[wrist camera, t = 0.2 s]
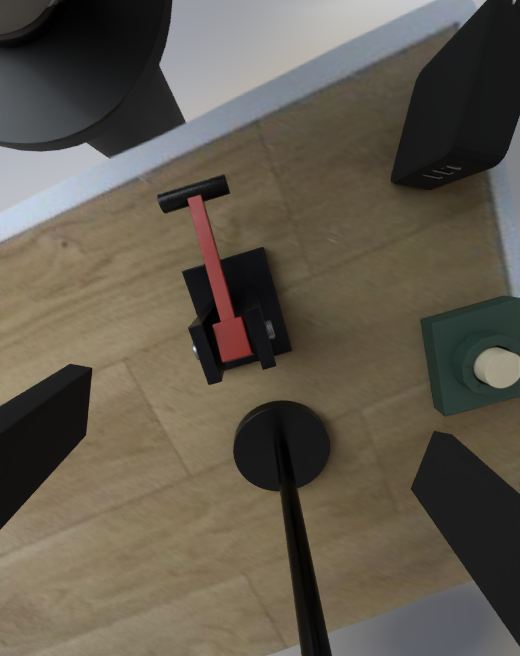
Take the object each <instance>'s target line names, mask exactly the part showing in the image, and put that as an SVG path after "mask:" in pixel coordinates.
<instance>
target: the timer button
mask: <svg viewBox="0 0 520 656" xmlns="http://www.w3.org/2000/svg"><path fill="white" fill-rule="evenodd" d="M473 370H474V374H475V375H476V377H477V378H478V379H480V380H481V381H483V382H485V383H487V384H489V385H491V386H493V387H495V388H505V387H508V386H511V385H512V384H514V383H515V382H516V381H517V380H518V379H519V378H520V357H519V356H518V355H517V354H515V353H512V352H509V351H507V350H504V349H501V348H497V347H494V348H489V349H486V350H484V351H483V352H481V353H480V354H479V355H478V356H477V358H476V360H475V362H474V366H473Z"/></svg>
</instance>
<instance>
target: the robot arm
mask: <svg viewBox="0 0 520 656" xmlns="http://www.w3.org/2000/svg"><path fill="white" fill-rule="evenodd" d="M68 2H69V0H0V47H3V48H8V47H19V46H23V45H27V44H29V43H32V42H34V41H36V40H38V39H40V38H41V37H43V36H44V35H45V34H47V33H48V32H49V31H50V30H51V29H52V28H53V27H54V26H55V25H56V24H57V22H58V21H59V20H60V18H61V16H62V15H63V13H64V11H65V9H66V7H67V5H68ZM91 377H92V368H90V367H85V366H79V365H74V364H69V365H67V366H66V367H64V368H62V369H61V370H59V371H58V372H56V373H54V374H53V375H51V376H49V377H48V378H46V379H44V380H43V381H41V382H39V383H38V384H36V385H34V386H33V387H31V388H29V389H28V390H26V391H25V392H23V393H21V394H20V395H18V396H16V397H15V398H13V399H11V400H10V401H8V402H6V403H5V404H3V405H1V406H0V530H1V528H2V527H3V526H4V525H5V524H6V523H7V522H8V521H9V520H10V519H11V517H12V516H13V515H14V514H15V513H16V512H17V511H18V510H19V509H20V507H21V506H22V505H23V504H24V503H25V502H26V501H27V500H28V499H29V498H30V496H31V495H32V494H33V493H34V492H35V491H36V490H37V489H38V488H39V487H40V485H41V484H42V483H43V482H44V481H45V480H46V479H47V478H48V477H49V475H50V474H51V473H52V472H53V471H54V470H55V469H56V468H57V467H58V466H59V464H60V463H61V462H62V461H63V460H64V459H65V458H66V457H67V456H68V455H69V453H70V452H71V451H72V450H73V449H74V448H75V447H76V446H77V445H78V443H79V442H80V441H81V440H82V439H83V438H84V437H85V436H86V430H87V420H88V409H89V398H90V388H91ZM411 490H412V491H413V493H414V494H415V496H416V497H417V499H418V500H419V502H420V503H421V505H422V506H423V507H424V509H425V510H426V512H427V513H428V515H429V516H430V518H431V519H432V520H433V522H434V523H435V525H436V526H437V528H438V529H439V531H440V532H441V533H442V535H443V536H444V538H445V539H446V541H447V542H448V544H449V545H450V546H451V548H452V549H453V551H454V552H455V554H456V555H457V557H458V558H459V559H460V561H461V562H462V564H463V565H464V567H465V568H466V570H467V571H468V572H469V574H470V575H471V577H472V578H473V580H474V581H475V582H476V584H477V585H478V587H479V588H480V590H481V591H482V593H483V594H484V595H485V597H486V598H487V600H488V601H489V603H490V604H491V606H492V607H493V608H494V610H495V611H496V613H497V614H498V616H499V617H500V619H501V620H502V622H503V623H504V624H505V626H506V627H507V629H508V630H509V631H510V633H511V635H512V636H513V637H514V639H515V640H516V642H517V643H518V645H519V646H520V494H519V493H518V492H517V491H515V490H514V489H513V488H512V487H511V486H510V485H509V484H507V483H506V482H505V481H504V480H503V479H502V478H501V477H500V476H498V475H497V474H496V473H495V472H494V471H493V470H492V469H490V468H489V467H488V466H487V465H486V464H485V463H484V462H483V461H481V460H480V459H479V458H478V457H477V456H476V455H475V454H473V453H472V452H471V451H470V450H469V449H468V448H467V447H466V446H464V445H463V444H462V443H461V442H460V441H459V440H458V439H456V438H455V437H454V436H453V435H452V434H447V433H442V432H436V431H434V432H433V435H432V437H431V440H430V442H429V445H428V447H427V450H426V452H425V455H424V457H423V460H422V462H421V465H420V467H419V470H418V472H417V474H416V477H415V479H414V482H413V484H412V487H411Z"/></svg>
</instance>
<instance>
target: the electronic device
mask: <svg viewBox="0 0 520 656" xmlns="http://www.w3.org/2000/svg"><path fill="white" fill-rule="evenodd" d="M519 116H520V0H487V1H486V2H485V3H484V4H483V5H482V6H481V7H480V8H479V9H478V10H477V11H476V12H475V13H474V15H473V16H472V17H471V18H470V19H469V20H468V21H467V22H466V23H465V24H464V25H463V26H462V27H461V29H460V30H459V31H458V32H457V33H456V34H455V35H454V36H453V37H452V38H451V39H450V40H449V41H448V42H447V44H446V45H445V46H444V47H443V48H442V49H441V50H440V51H439V52H438V53H437V54H436V55H435V56H434V57H433V59H432V60H431V61H430V62H429V63H428V64H427V65H426V66H425V67H424V68H423V69H422V71H421V72H420V74H419V76H418V78H417V80H416V83H415V86H414V90H413V94H412V97H411V101H410V105H409V109H408V113H407V117H406V121H405V124H404V128H403V132H402V136H401V140H400V144H399V148H398V151H397V155H396V159H395V163H394V167H393V171H392V175H391V182H392V183H397V184H402V185H407V186H411V187H416V188H421V189H426V190H432V189H435V188H437V187H440V186H443V185H446V184H449V183H451V182H454V181H457V180H460V179H462V178H465V177H468V176H471V175H474V174H476V173H479V172H482V171H485V170H487V169H490V168H493V167H495V166H496V165H498V164H499V163H500V162H501V161H502V159H503V158H504V157H505V155H506V153H507V151H508V149H509V146H510V143H511V140H512V136H513V134H514V131H515V128H516V125H517V122H518V119H519Z"/></svg>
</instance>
